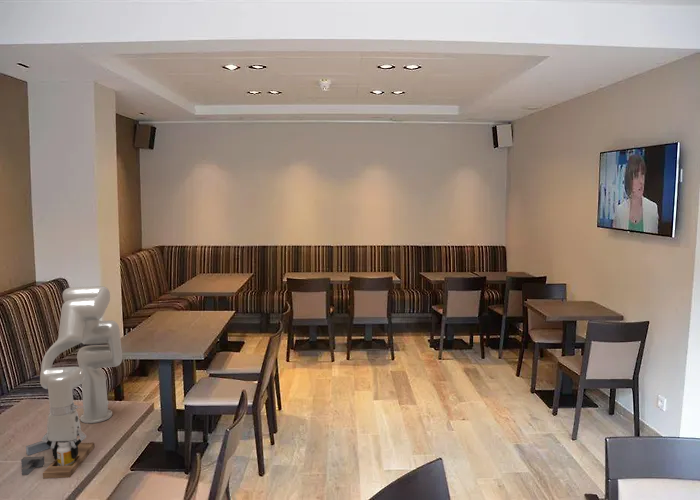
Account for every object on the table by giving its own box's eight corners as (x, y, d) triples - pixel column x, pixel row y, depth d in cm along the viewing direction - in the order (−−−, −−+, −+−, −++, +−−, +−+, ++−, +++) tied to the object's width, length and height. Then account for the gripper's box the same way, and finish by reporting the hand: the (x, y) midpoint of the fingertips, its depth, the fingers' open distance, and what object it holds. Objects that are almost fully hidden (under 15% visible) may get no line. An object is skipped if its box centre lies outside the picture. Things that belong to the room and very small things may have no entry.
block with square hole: (70, 448, 220) (69, 443, 219) (94, 447, 220) (94, 442, 220) (43, 478, 198) (42, 473, 198) (70, 477, 198) (69, 471, 198)
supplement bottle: (77, 462, 209) (75, 436, 207) (70, 469, 203) (68, 443, 202) (62, 462, 209) (60, 437, 207) (55, 470, 203) (53, 444, 202)
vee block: (36, 444, 223) (35, 437, 223) (73, 443, 224) (73, 435, 223) (24, 455, 214) (23, 448, 214) (63, 454, 215) (63, 446, 215)
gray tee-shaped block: (24, 464, 207) (23, 457, 207) (44, 464, 208) (44, 456, 207) (14, 475, 200) (13, 466, 200) (35, 474, 201) (34, 466, 200)
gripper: (90, 403, 207) (94, 451, 210) (41, 405, 206) (46, 453, 209) (82, 412, 200) (86, 461, 202) (31, 414, 199) (36, 463, 201)
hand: (65, 457), depth 206 cm, fingers closed on supplement bottle, 5 cm apart
